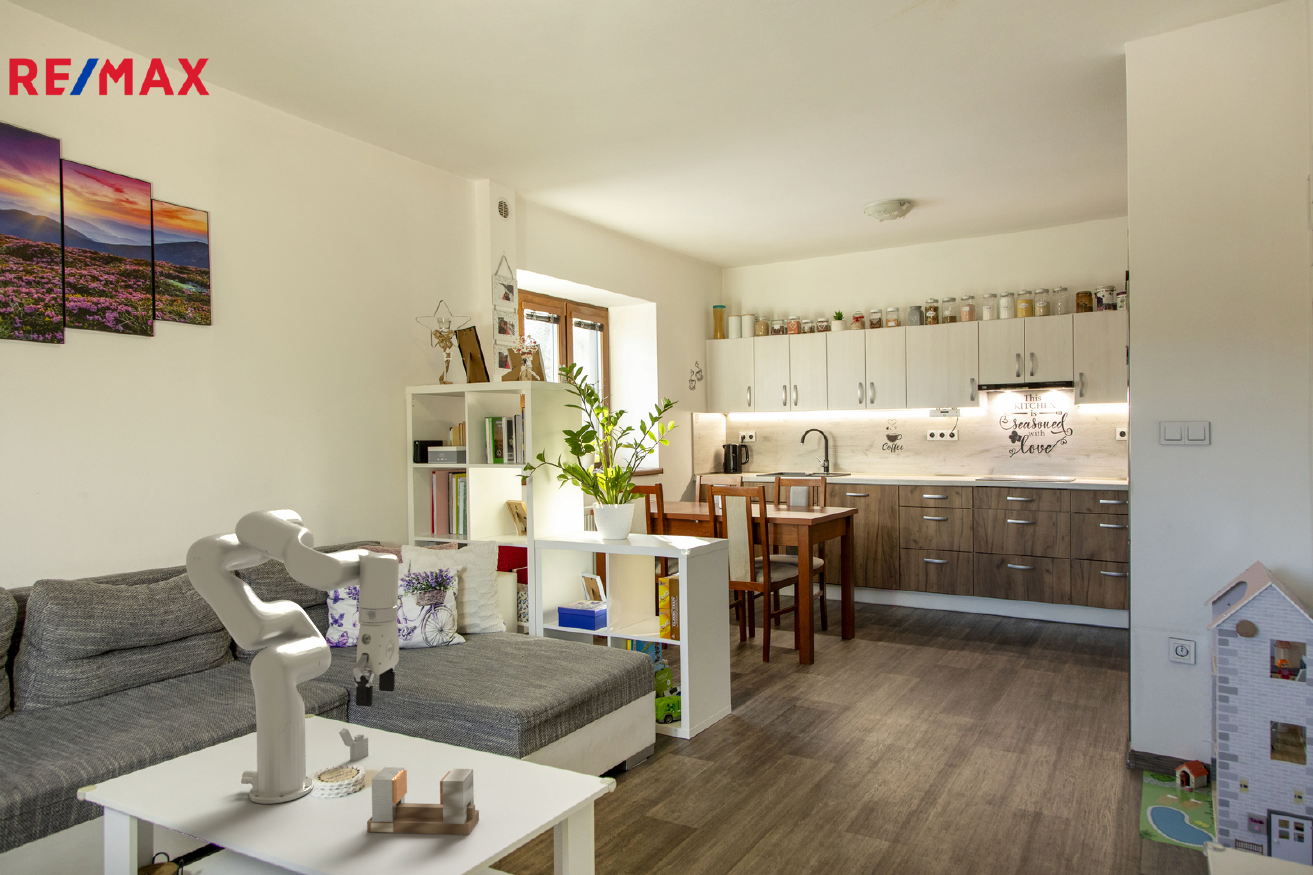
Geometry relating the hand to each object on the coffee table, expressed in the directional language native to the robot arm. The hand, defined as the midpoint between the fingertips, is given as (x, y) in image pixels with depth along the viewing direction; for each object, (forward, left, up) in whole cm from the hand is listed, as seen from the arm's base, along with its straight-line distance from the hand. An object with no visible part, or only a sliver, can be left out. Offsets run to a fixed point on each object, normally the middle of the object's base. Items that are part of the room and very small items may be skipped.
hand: (375, 698), depth 168 cm
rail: (+13, -7, -22) cm, 27 cm away
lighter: (-17, +26, -23) cm, 38 cm away
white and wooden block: (+6, -7, -20) cm, 22 cm away
